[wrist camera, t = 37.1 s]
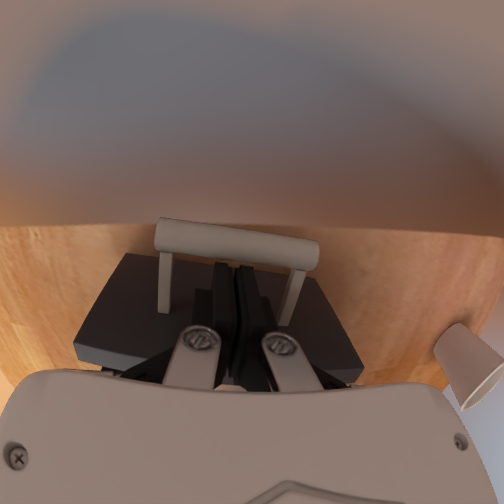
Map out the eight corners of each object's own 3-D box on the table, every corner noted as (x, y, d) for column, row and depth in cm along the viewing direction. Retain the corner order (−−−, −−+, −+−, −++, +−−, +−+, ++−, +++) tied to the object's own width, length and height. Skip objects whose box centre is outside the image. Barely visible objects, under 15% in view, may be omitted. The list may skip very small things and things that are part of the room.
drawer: (128, 183, 15) (52, 239, 7) (334, 216, 17) (410, 286, 10) (133, 364, 22) (115, 446, 14) (275, 378, 24) (293, 458, 16)
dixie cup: (454, 309, 25) (501, 361, 16) (476, 319, 27) (515, 362, 18) (415, 360, 28) (451, 416, 19) (442, 362, 30) (474, 408, 21)
